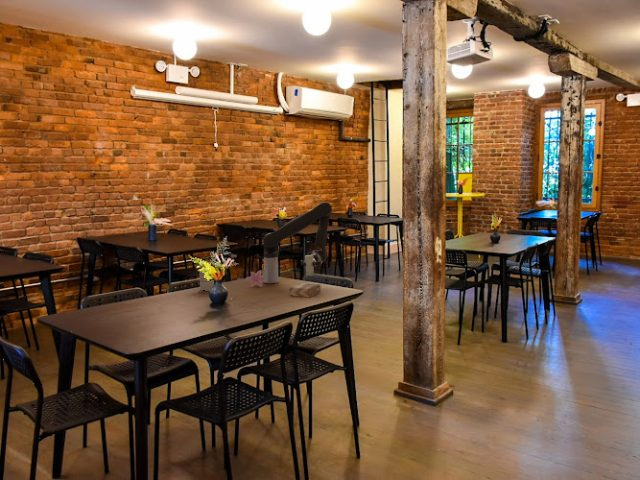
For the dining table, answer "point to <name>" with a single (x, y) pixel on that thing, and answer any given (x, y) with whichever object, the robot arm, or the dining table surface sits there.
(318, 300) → the dining table surface
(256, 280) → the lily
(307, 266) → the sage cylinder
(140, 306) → the dining table surface
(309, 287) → the birch plinth
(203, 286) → the supplement box
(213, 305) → the dining table surface
